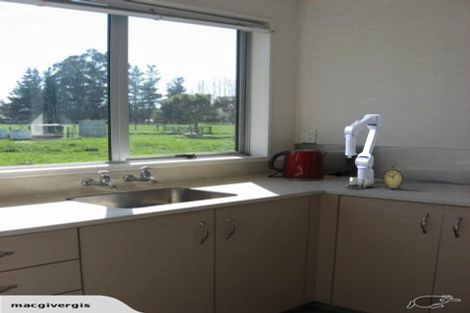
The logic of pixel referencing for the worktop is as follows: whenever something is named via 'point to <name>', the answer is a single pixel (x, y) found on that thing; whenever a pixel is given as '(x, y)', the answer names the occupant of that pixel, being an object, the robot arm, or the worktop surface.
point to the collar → (353, 181)
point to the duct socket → (362, 183)
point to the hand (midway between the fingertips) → (350, 168)
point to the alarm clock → (393, 177)
